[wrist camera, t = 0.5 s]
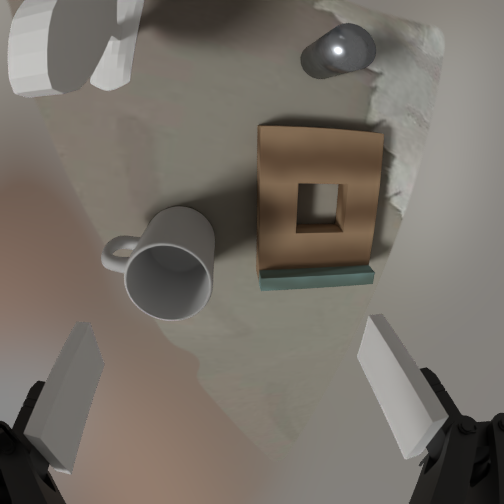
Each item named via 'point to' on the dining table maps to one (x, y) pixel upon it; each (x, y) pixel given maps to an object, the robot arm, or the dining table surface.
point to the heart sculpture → (72, 45)
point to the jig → (316, 235)
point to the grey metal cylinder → (339, 52)
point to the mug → (167, 264)
